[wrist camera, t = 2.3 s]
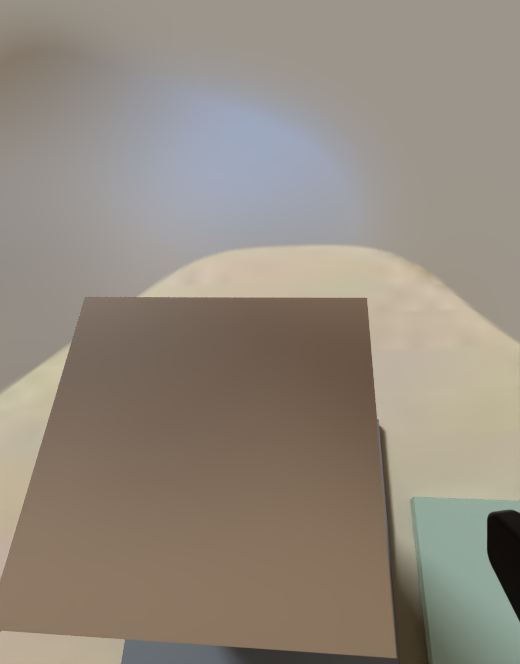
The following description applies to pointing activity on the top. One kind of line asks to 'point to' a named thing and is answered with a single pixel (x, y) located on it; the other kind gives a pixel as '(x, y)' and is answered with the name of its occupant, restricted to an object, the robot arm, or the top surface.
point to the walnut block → (210, 481)
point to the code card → (209, 660)
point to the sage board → (462, 583)
